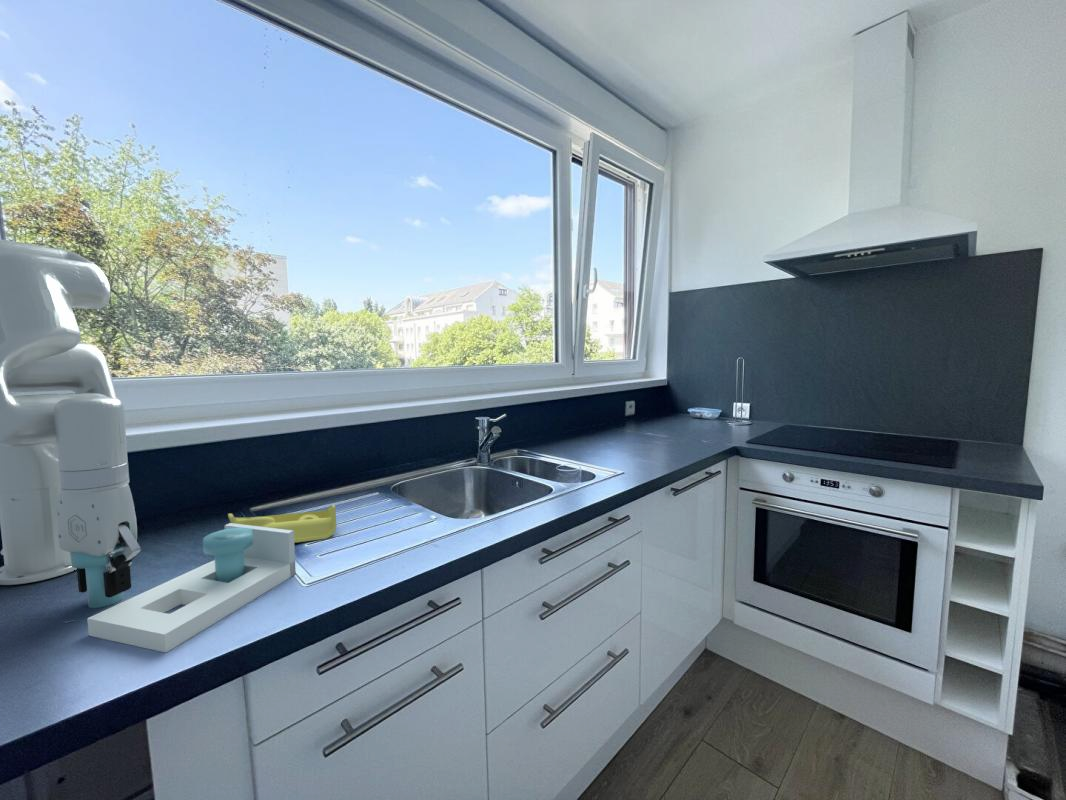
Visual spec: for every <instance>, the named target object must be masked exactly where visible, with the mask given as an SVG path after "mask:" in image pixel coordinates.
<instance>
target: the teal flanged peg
mask: <svg viewBox="0 0 1066 800" xmlns="http://www.w3.org/2000/svg"><path fill="white" fill-rule="evenodd" d="M252 544H253V533H252V529H250V528H243V527H240V528H230V529H225V528H224V529H220V530H218V531H214V532H211V533H209V534H207V535H206V536H204V537H203V538H202V549H203V550H202V551H203V554H204V555H206V556H211V557H212V556H214V560H215V573H216V581H220V582H226V583H229V582H231V581H233V580H235V579H237V578H239V577H240V576H242V575H244V574H245V568H244V549H246V548H248V547H250V546H251V545H252Z"/></svg>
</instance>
